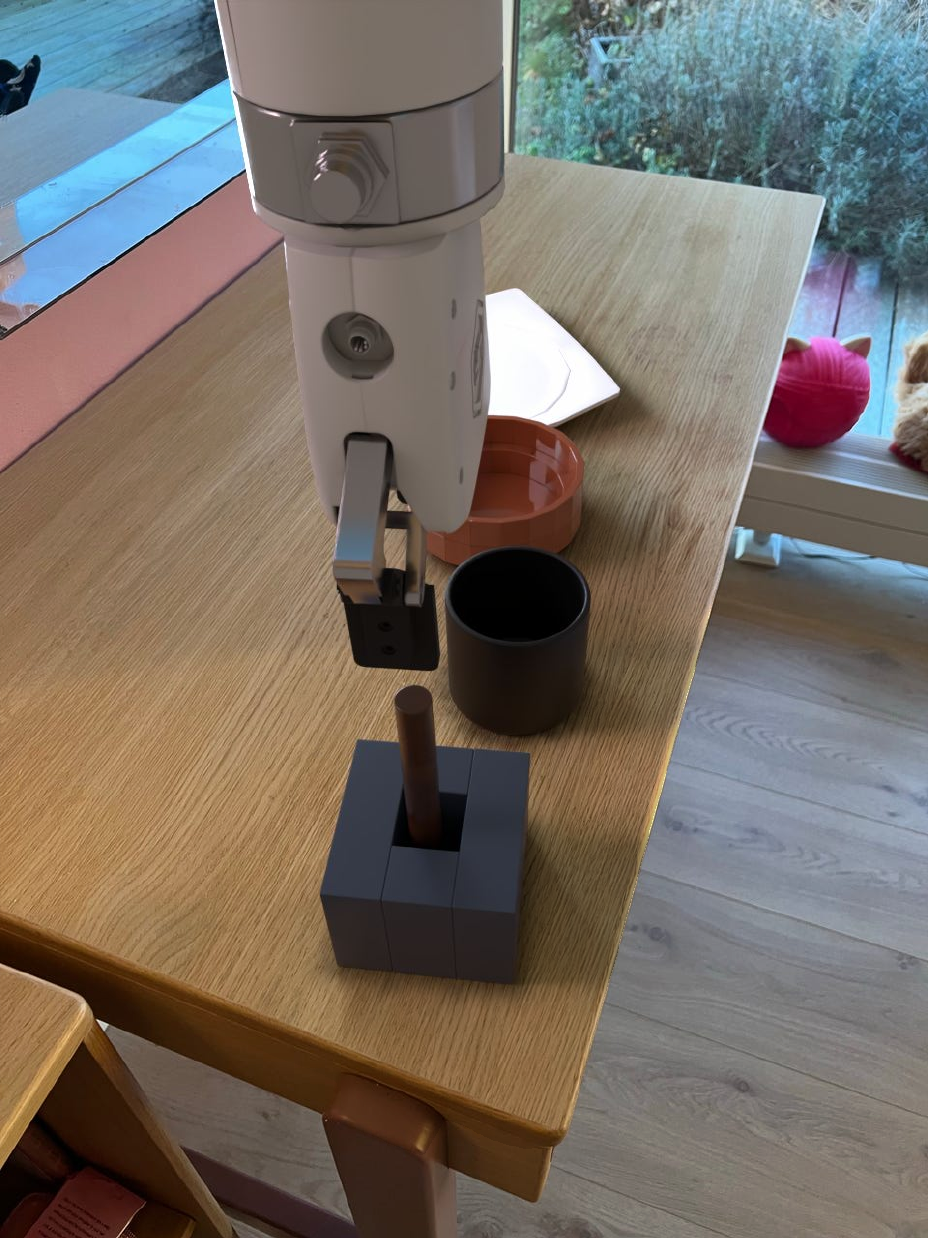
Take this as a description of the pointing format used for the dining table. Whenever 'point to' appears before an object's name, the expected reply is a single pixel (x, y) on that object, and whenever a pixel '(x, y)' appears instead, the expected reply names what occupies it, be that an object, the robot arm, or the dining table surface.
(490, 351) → the plate
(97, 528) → the dining table surface
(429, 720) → the stick
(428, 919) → the holder
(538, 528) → the bowl
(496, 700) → the mug
